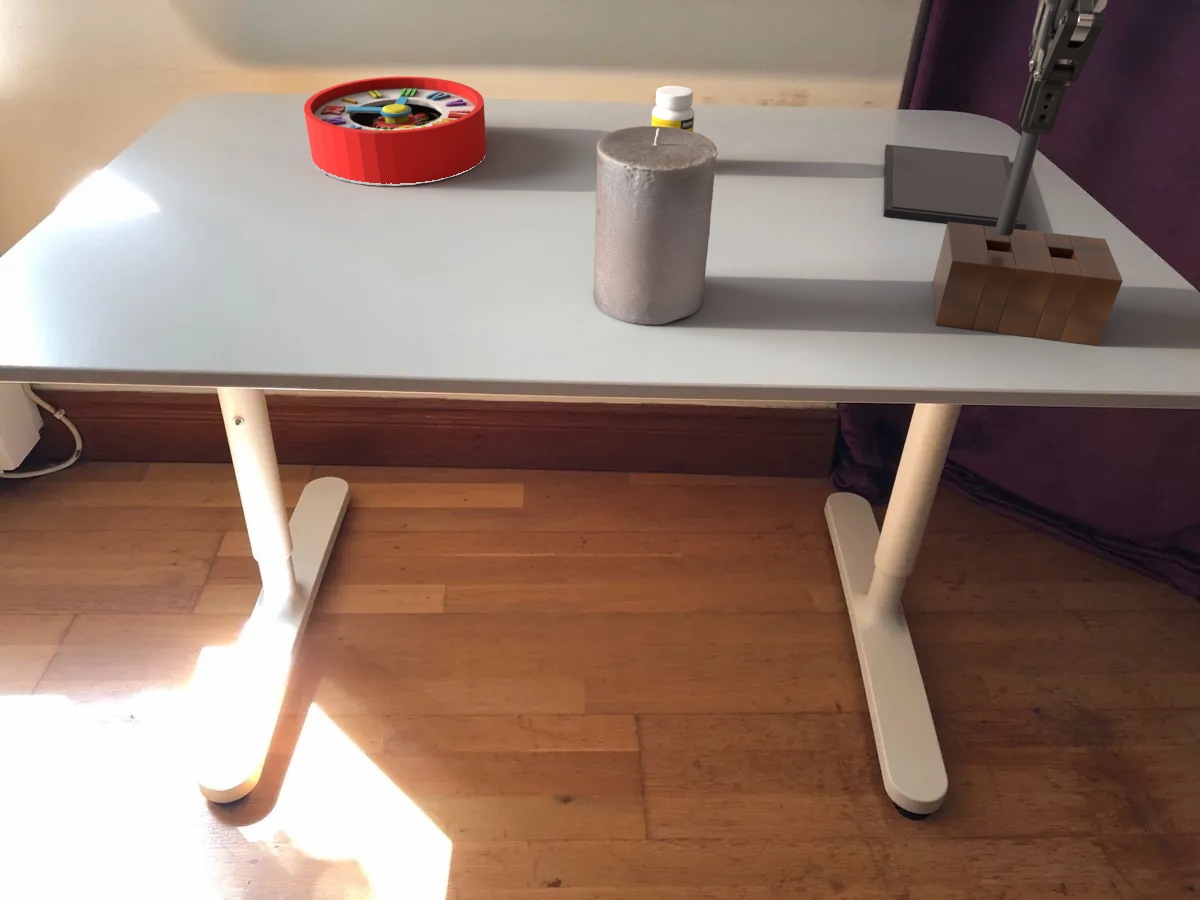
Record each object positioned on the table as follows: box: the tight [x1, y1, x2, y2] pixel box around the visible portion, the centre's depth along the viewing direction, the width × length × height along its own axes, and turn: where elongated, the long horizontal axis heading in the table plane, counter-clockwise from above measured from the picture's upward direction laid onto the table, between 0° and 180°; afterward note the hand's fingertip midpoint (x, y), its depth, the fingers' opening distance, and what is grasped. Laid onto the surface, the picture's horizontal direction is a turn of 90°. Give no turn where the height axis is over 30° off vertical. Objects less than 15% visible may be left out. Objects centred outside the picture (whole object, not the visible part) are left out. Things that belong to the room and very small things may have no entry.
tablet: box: [882, 144, 1028, 230], centre depth 105 cm, size 14×20×1 cm
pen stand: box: [932, 222, 1124, 347], centre depth 81 cm, size 13×8×6 cm, turn 76°
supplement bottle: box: [650, 85, 695, 132], centre depth 107 cm, size 5×5×8 cm
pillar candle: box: [593, 125, 719, 326], centre depth 79 cm, size 10×10×15 cm
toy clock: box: [303, 75, 488, 184], centre depth 109 cm, size 20×6×20 cm
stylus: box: [995, 59, 1063, 236], centre depth 75 cm, size 1×1×14 cm
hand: (1034, 127), depth 74 cm, fingers closed on stylus, 1 cm apart
